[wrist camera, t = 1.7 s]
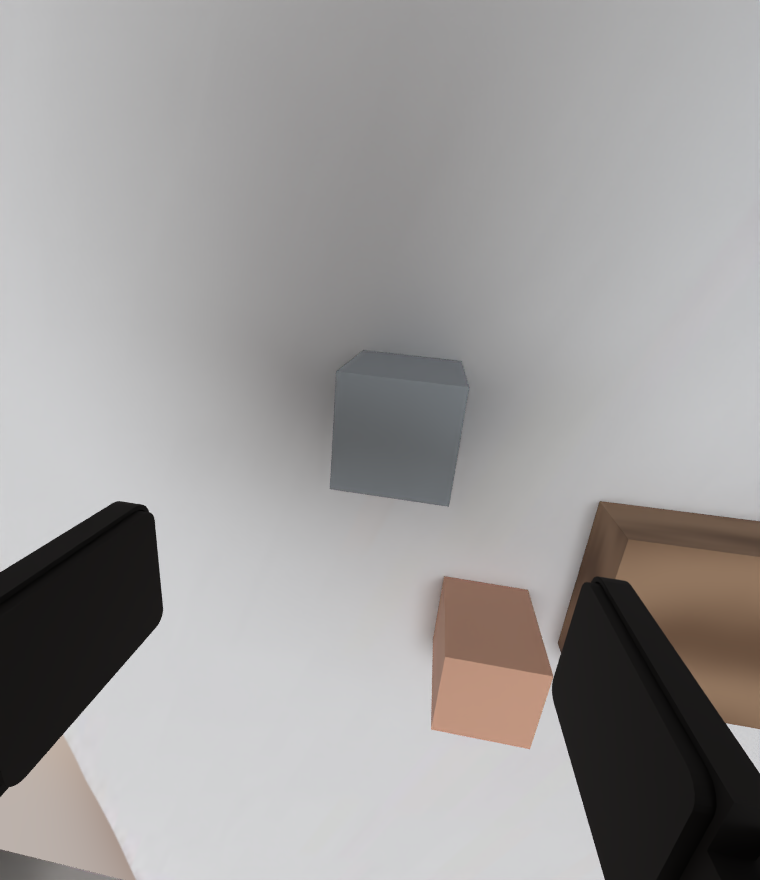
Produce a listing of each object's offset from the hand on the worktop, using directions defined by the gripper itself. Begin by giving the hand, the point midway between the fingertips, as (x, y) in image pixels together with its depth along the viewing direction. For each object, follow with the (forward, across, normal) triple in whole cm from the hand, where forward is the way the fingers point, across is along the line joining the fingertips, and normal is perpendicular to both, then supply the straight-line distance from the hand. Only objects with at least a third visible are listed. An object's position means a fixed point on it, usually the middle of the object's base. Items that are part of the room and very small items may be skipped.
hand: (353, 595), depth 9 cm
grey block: (+14, 0, -1) cm, 14 cm away
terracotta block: (+14, -6, +12) cm, 20 cm away
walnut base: (+15, -16, +8) cm, 23 cm away
